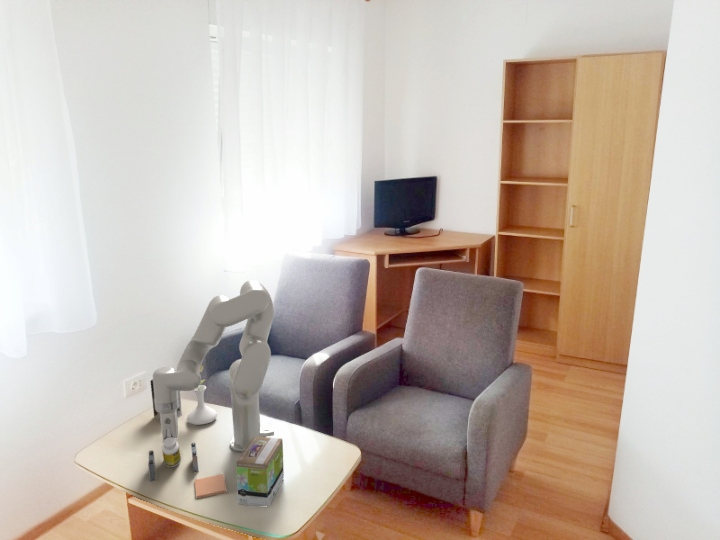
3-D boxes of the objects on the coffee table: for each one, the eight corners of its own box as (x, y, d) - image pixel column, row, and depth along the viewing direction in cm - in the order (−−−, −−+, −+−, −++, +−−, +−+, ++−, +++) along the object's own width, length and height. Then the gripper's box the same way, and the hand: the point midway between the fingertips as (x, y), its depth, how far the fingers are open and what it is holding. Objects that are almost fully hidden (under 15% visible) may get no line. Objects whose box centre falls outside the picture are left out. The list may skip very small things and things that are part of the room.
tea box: (269, 508, 162) (266, 464, 158) (237, 505, 164) (234, 461, 160) (285, 478, 176) (282, 437, 173) (255, 475, 178) (252, 434, 175)
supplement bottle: (176, 469, 183) (173, 449, 177) (161, 466, 183) (157, 446, 178) (183, 456, 187) (180, 436, 182) (169, 453, 188) (165, 433, 183)
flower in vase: (223, 416, 218) (218, 357, 212) (205, 429, 207) (200, 368, 202) (196, 410, 222) (190, 353, 216) (177, 424, 212) (171, 364, 206)
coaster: (223, 476, 178) (223, 473, 178) (226, 492, 170) (226, 489, 170) (194, 482, 175) (194, 479, 175) (196, 498, 167) (196, 496, 167)
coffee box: (153, 418, 217) (149, 380, 213) (164, 410, 223) (160, 374, 219) (172, 421, 214) (168, 383, 210) (182, 414, 220) (179, 377, 216)
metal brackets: (197, 458, 188) (195, 441, 186) (198, 471, 181) (196, 453, 179) (150, 468, 183) (148, 450, 182) (150, 481, 176) (148, 463, 174)
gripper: (178, 412, 178) (182, 462, 182) (178, 393, 192) (182, 440, 196) (154, 415, 176) (158, 466, 180) (155, 396, 190) (159, 443, 194)
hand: (171, 452), depth 188 cm, fingers closed
